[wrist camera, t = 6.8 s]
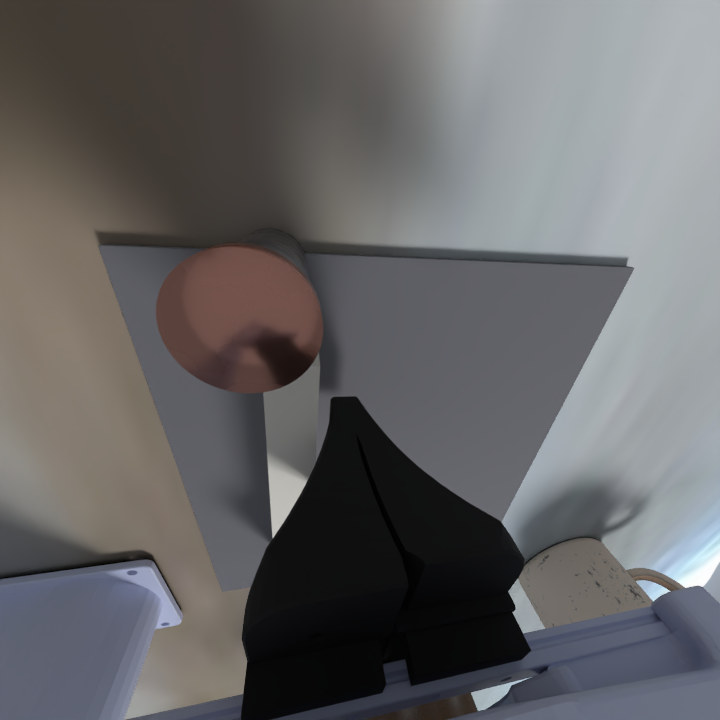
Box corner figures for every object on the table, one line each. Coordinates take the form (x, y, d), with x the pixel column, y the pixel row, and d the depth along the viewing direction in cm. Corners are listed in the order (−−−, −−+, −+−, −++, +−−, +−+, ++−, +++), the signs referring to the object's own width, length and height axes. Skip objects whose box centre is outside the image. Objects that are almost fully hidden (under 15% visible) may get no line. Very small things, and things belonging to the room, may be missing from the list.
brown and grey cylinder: (236, 304, 10) (178, 396, 6) (223, 219, 9) (132, 243, 4) (314, 305, 11) (323, 390, 6) (313, 224, 9) (323, 251, 5)
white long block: (307, 524, 17) (308, 595, 14) (281, 527, 16) (276, 600, 13) (315, 318, 11) (320, 366, 8) (273, 316, 10) (261, 365, 7)
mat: (223, 586, 19) (222, 591, 19) (104, 243, 9) (98, 245, 8) (485, 544, 23) (487, 548, 23) (627, 266, 12) (634, 267, 12)
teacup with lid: (517, 594, 30) (622, 789, 20) (511, 558, 25) (645, 791, 15) (624, 553, 30) (786, 733, 20) (638, 509, 25) (861, 716, 15)
